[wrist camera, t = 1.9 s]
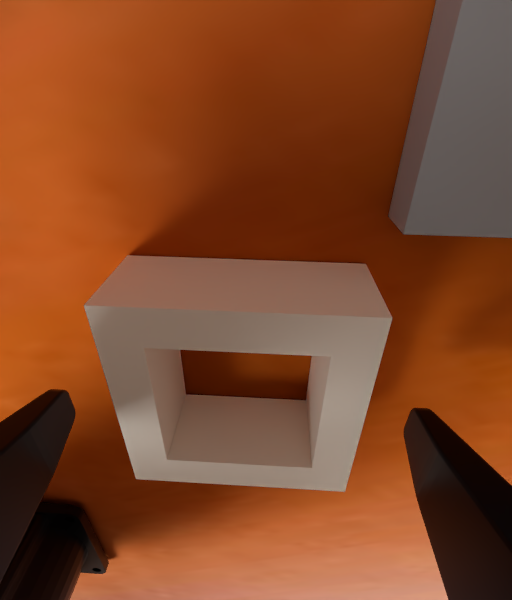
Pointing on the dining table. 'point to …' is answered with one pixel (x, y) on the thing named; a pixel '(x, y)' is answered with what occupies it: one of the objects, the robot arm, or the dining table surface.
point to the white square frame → (245, 339)
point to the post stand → (460, 127)
